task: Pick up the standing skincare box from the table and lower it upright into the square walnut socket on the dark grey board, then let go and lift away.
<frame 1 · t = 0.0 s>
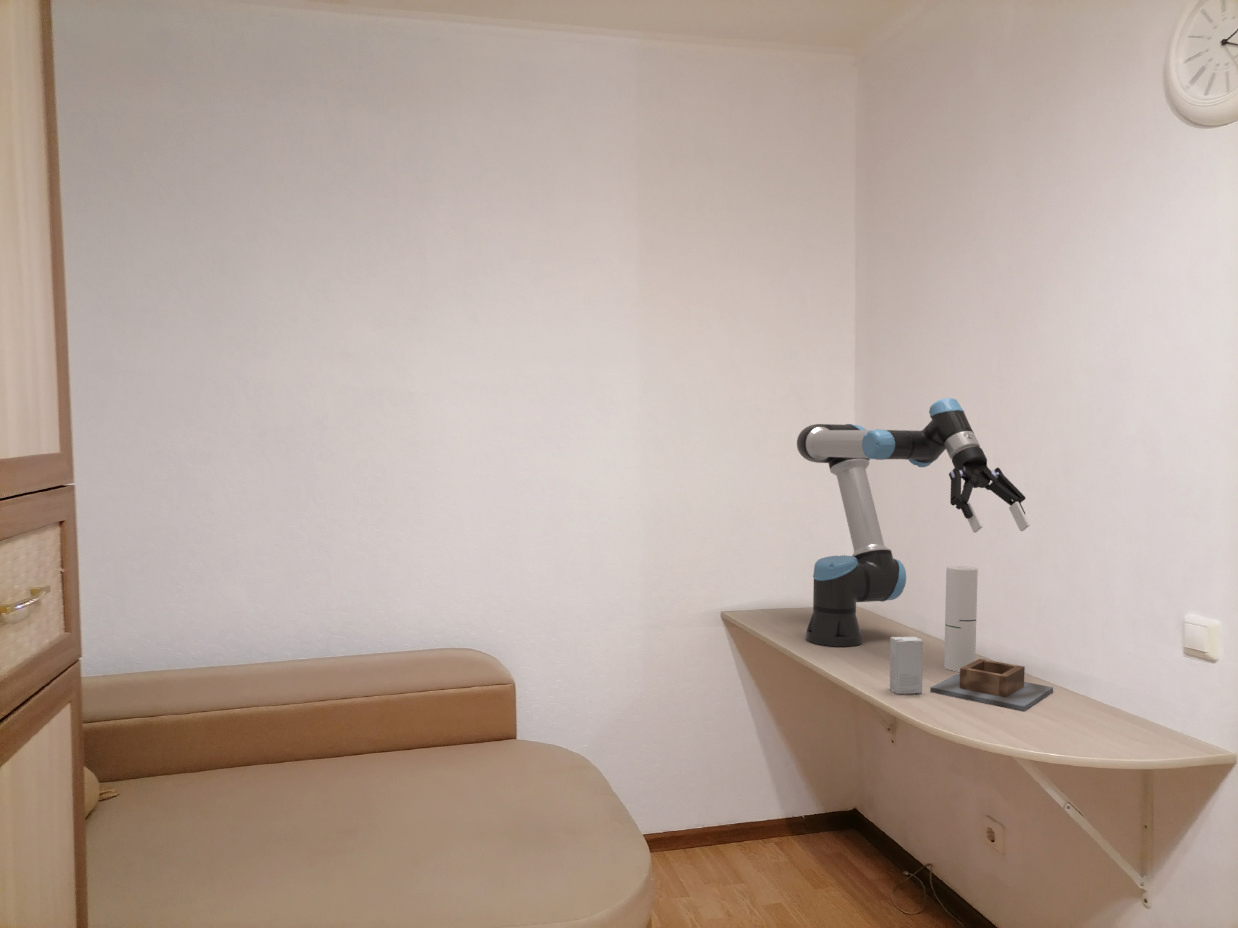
hand: (1002, 529, 204), 36 cm above the shelf, tool tilted 35°, fingers open, 13 cm apart
cylindrical container: (959, 669, 218), on the shelf
socket: (991, 691, 198), on the shelf
skincare box: (905, 692, 197), on the shelf
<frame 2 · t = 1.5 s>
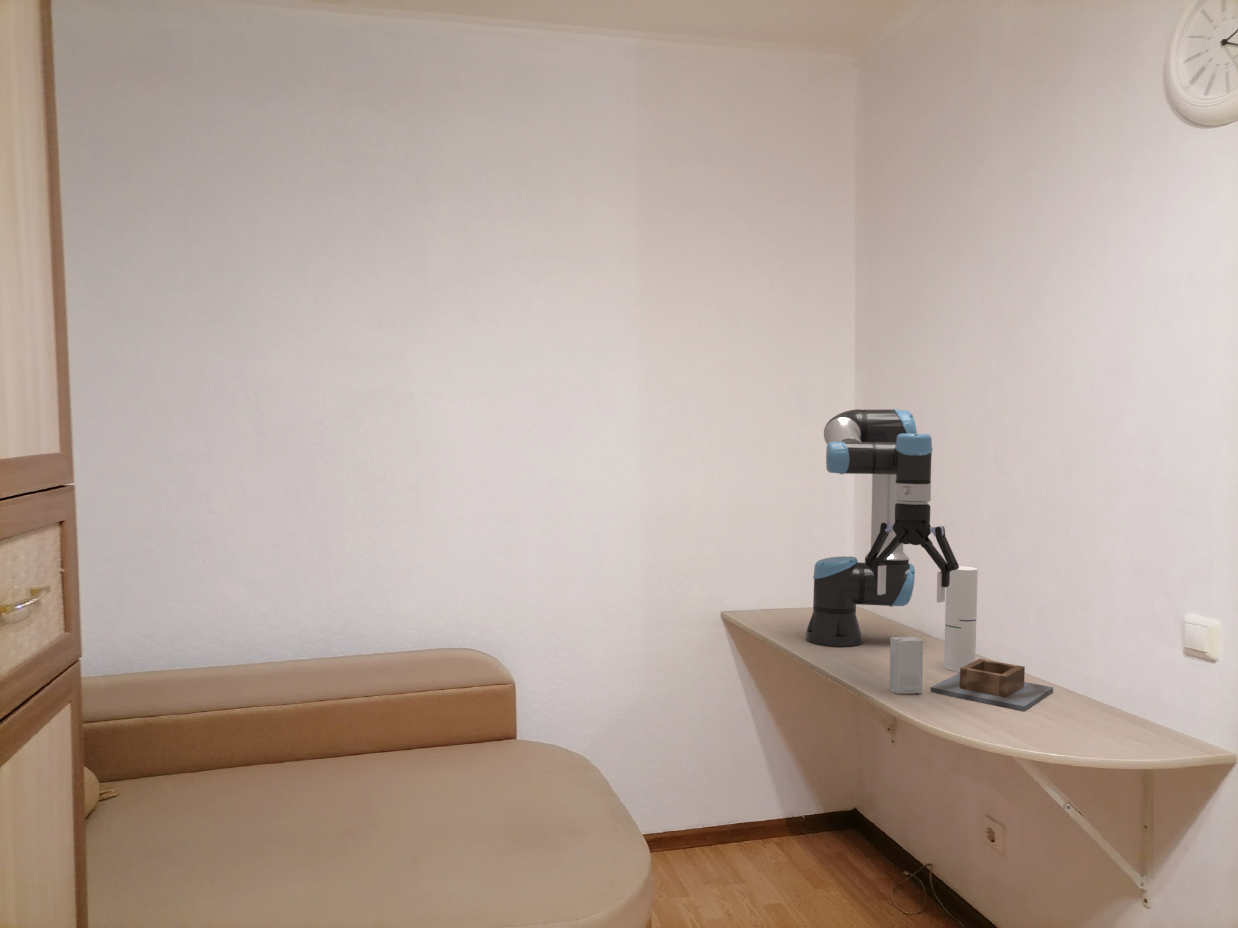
hand: (910, 597, 196), 21 cm above the shelf, tool pointing down, fingers open, 13 cm apart
nothing on the shelf moved.
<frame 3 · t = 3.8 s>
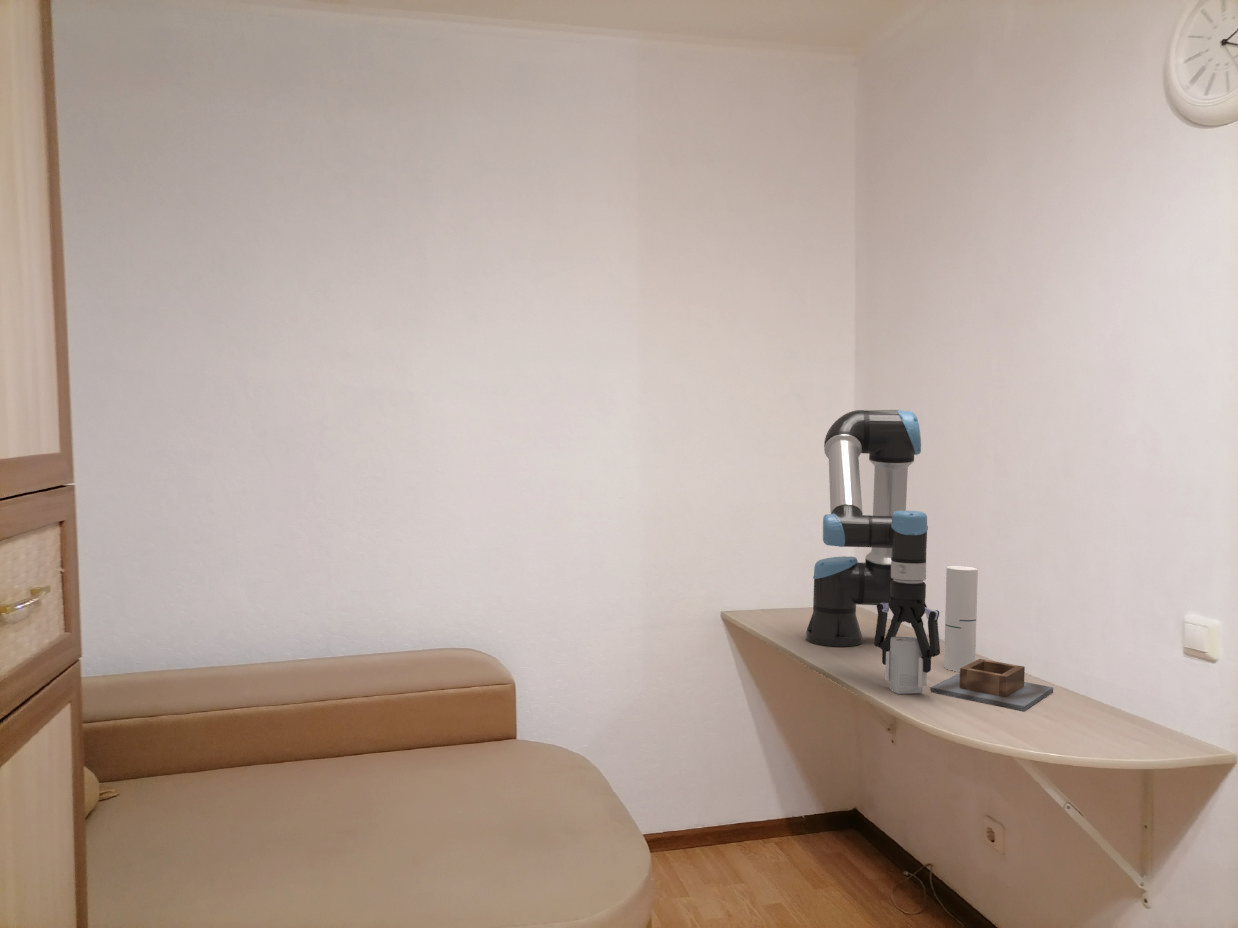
hand: (905, 682, 197), 2 cm above the shelf, tool pointing down, fingers closed on skincare box, 7 cm apart
skincare box: (905, 692, 197), on the shelf, touching gripper
everything else where it was.
when the fingers open (7 cm above the shelf, at t = 10.0 s): skincare box drops 4 cm, resting on socket.
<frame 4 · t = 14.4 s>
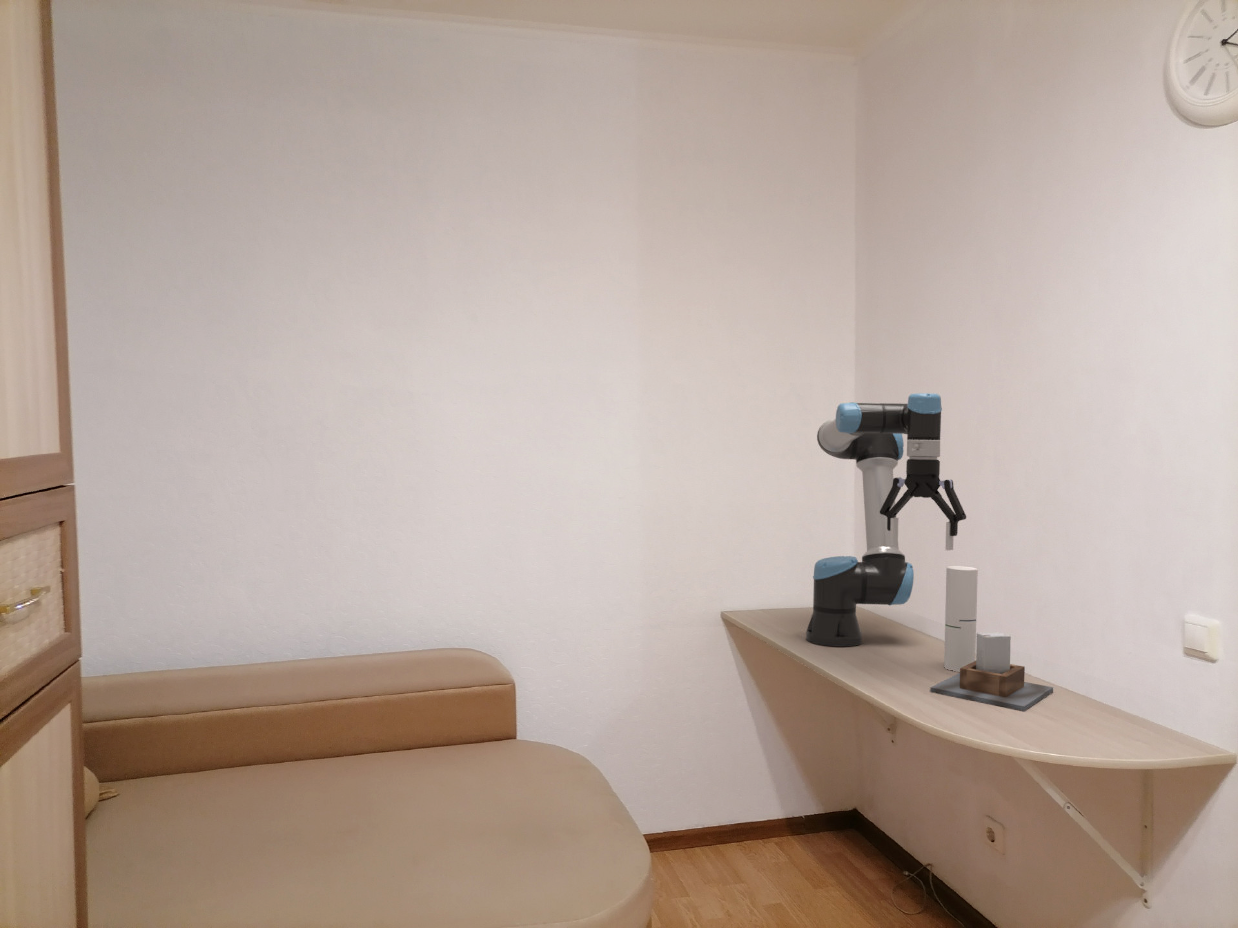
hand: (921, 547, 210), 31 cm above the shelf, tool pointing down, fingers open, 13 cm apart
skincare box: (992, 688, 198), point 1 cm above the shelf, touching socket
everything else where it was.
at the end: skincare box 0.0 cm off-centre on the socket, point 0.8 cm above the socket's base; skincare box tilted 0°; the gripper is holding nothing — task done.
